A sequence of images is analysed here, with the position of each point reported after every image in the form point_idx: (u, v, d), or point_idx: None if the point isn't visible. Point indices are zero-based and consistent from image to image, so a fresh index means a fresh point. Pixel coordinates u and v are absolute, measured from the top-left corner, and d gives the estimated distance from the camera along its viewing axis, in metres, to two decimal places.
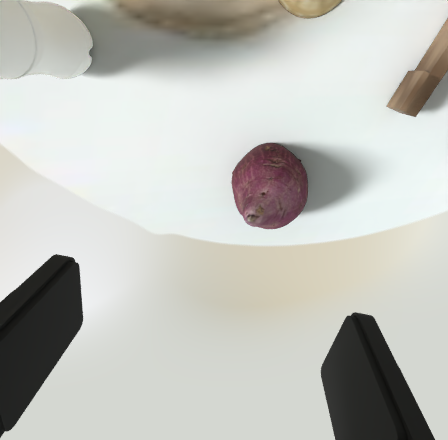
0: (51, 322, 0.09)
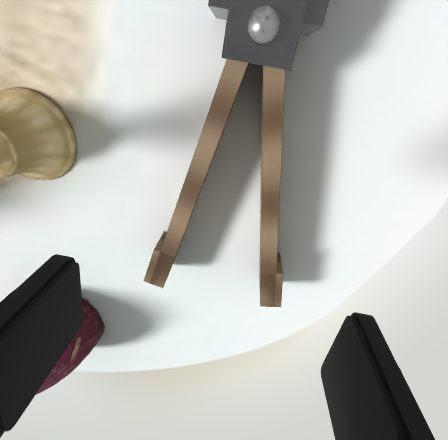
0: (51, 322, 0.09)
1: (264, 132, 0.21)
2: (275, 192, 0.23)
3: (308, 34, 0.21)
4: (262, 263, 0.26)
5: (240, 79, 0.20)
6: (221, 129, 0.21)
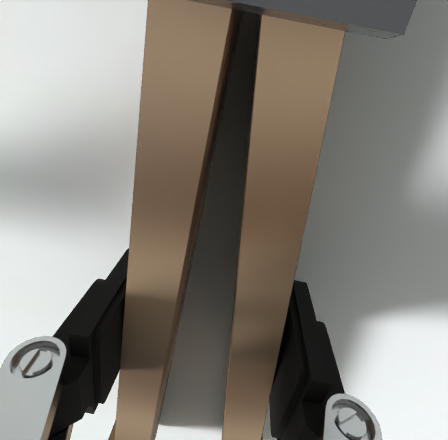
0: None
1: (246, 241, 0.07)
2: (264, 372, 0.09)
3: None
4: None
5: (212, 86, 0.05)
6: (182, 243, 0.07)
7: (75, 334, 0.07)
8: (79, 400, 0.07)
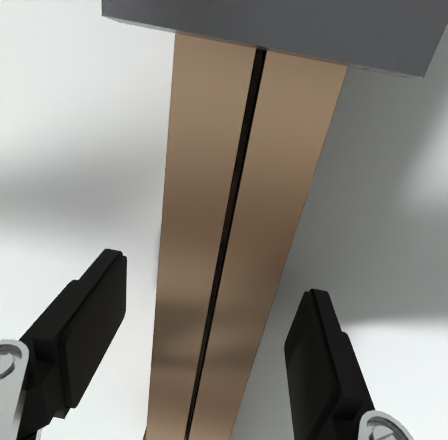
0: (106, 310, 0.09)
1: (229, 261, 0.07)
2: (234, 388, 0.09)
3: None
4: None
5: (238, 119, 0.06)
6: (210, 269, 0.07)
7: (39, 337, 0.07)
8: (44, 406, 0.07)
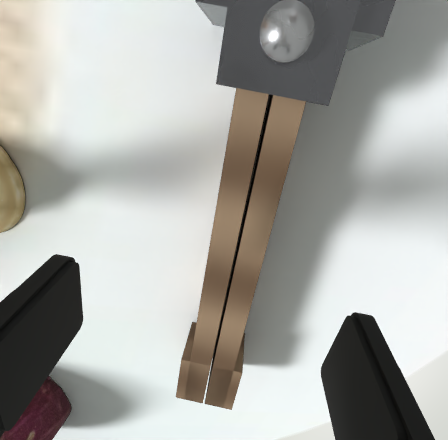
0: (51, 322, 0.09)
1: (254, 191, 0.14)
2: (253, 273, 0.16)
3: (348, 49, 0.14)
4: (217, 355, 0.19)
5: (260, 121, 0.13)
6: (244, 196, 0.14)
7: None
8: None
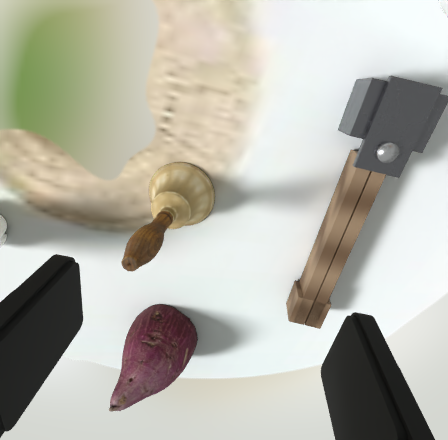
0: (51, 322, 0.09)
1: (357, 209, 0.31)
2: (348, 249, 0.33)
3: None
4: (319, 294, 0.36)
5: (365, 179, 0.29)
6: (351, 211, 0.31)
7: None
8: None
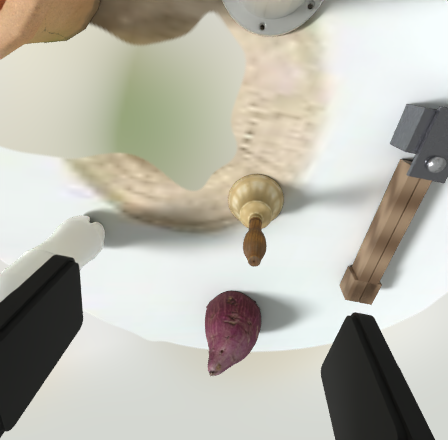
0: (51, 322, 0.09)
1: (407, 208, 0.38)
2: (398, 239, 0.40)
3: None
4: (372, 276, 0.44)
5: (415, 184, 0.37)
6: (403, 209, 0.39)
7: None
8: None
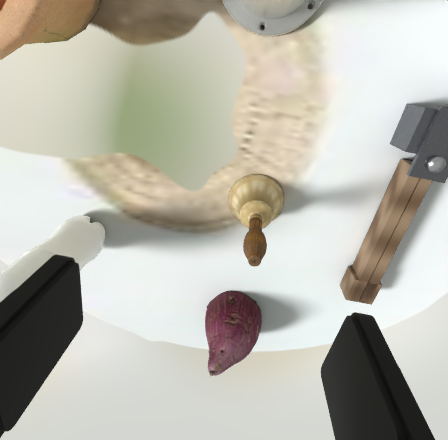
0: (51, 322, 0.09)
1: (407, 207, 0.38)
2: (399, 239, 0.40)
3: None
4: (372, 276, 0.44)
5: (415, 184, 0.37)
6: (403, 209, 0.38)
7: None
8: None
